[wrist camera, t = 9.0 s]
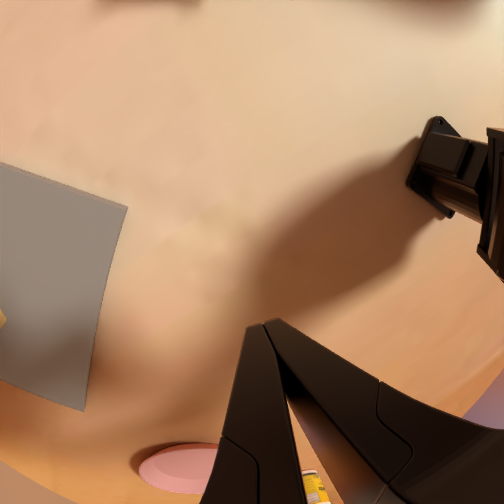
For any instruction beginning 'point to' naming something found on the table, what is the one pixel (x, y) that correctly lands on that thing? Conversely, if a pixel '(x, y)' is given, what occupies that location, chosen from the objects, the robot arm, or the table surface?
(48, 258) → the rubber mat
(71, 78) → the table surface
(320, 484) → the supplement bottle
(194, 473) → the plate
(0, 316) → the walnut block
